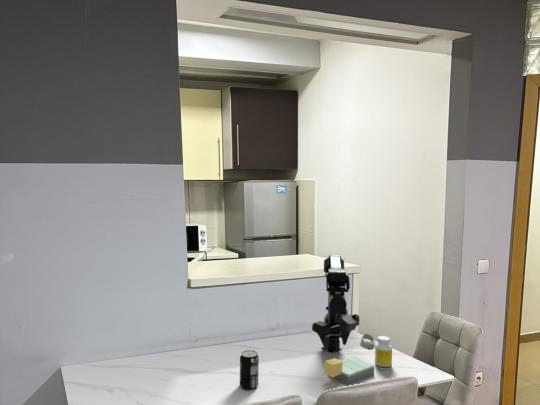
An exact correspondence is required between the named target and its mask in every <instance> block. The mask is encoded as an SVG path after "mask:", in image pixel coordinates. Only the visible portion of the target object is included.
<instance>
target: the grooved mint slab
mask: <svg viewBox="0 0 540 405" xmlns="http://www.w3.org/2000/svg"><path fill="white" fill-rule="evenodd" d="M372 368H374V369H375V364H372V363H369V362H368V361H365V360H363V359H361V358H358V357H357V356H352V357H349V358H346V359H343V360H341V359H340V360H339V359H338V358H335V357H333V358H331V359H327V360H324V374H325V375H327V376H328V377H330V378H335V376H338V375H340V374H343V375H345V376H347V377H350V376H352V375H355V374H358V373H361V372H363V371H366V370H369V369H372Z"/></svg>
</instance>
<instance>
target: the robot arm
mask: <svg viewBox="0 0 540 405" xmlns="http://www.w3.org/2000/svg"><path fill="white" fill-rule="evenodd" d="M323 272H324V275H325V279H326V280H325V282H326V283H325V284H326V287H325V288H326V290H325V291H326V292H328V293H327V294H328V295H327V306H325V310H326V311H327V313H326V314H325V316H324V317H323V321H321V320H319V321H315V322H312V325H311V329H312V330H311V331H312V332H314V333H316V334H317V335H318V337H319V339H320V341H321V343H322V347H321V350H323V351H325V352H329V353H331V354H332V353H336V352H339V351H343V350H342V348H340V347H341V346H340V345H341V344H340V343H341V342H340V339H341V341H342V345H344V346H346V345H347V343H348V340H349V337H350V335H351V332H352V331H355V330H356V329H357V327H358V326H359V325H360V320H361V319H360V316H359V314H357V313H355V314H348V309H347V306H348V305H347V301H346V297H345V296H346V295H345V293H349V290H350V288H351V286H350V285H351V283H350V276H349V274H348V273H347V272H346V269H345V260H344V259H343V258H342V256H341V255H340V254H329V255H328V257H327V258H326V259H324V260H323Z"/></svg>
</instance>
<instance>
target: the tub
mask: <svg viewBox="0 0 540 405" xmlns="http://www.w3.org/2000/svg"><path fill="white" fill-rule="evenodd" d="M374 375H375V367H374V368H372V369H369V370H366V371H363V372H361V373H358V374H355V375H352V376H350V377H347V376H345V375H343V374H340V375H338V376H335V377H334V378H336V379H337V380H340V381H342V382H343V383H344V384H347V385H350V384H352V383H355V382H358V381H360V380H363V379H365V378H368V377H371V376H374Z"/></svg>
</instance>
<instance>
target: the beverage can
mask: <svg viewBox="0 0 540 405" xmlns="http://www.w3.org/2000/svg"><path fill="white" fill-rule="evenodd" d="M259 360H260V359H259V355H258V352H257V351H256V350H250V349H247V350H243V351H241V353H240V357H239V387H240V388H241V389H242V390H244V391H253V390H256V389H257V387H258V386H259V369H260V368H259V364H260V363H259Z"/></svg>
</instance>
